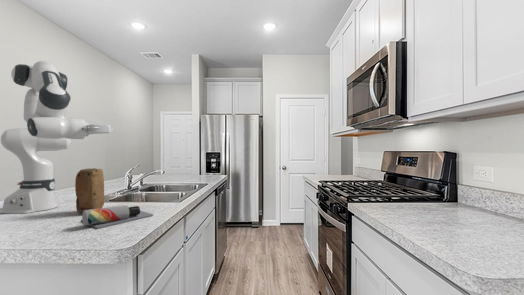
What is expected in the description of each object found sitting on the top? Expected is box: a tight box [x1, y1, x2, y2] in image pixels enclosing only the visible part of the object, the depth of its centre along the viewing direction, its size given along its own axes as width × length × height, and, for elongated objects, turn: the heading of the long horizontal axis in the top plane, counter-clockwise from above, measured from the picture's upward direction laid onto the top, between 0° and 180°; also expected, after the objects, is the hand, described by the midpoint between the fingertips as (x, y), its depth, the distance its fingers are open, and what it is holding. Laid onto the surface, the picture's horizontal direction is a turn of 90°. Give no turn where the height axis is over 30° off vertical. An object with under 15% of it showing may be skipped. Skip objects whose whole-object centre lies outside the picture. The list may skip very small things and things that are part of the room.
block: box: [74, 168, 105, 214], centre depth 118 cm, size 11×8×20 cm
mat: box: [80, 210, 154, 230], centre depth 108 cm, size 22×16×1 cm
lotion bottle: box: [81, 204, 141, 226], centre depth 104 cm, size 6×6×20 cm
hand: (112, 130), depth 123 cm, fingers closed
